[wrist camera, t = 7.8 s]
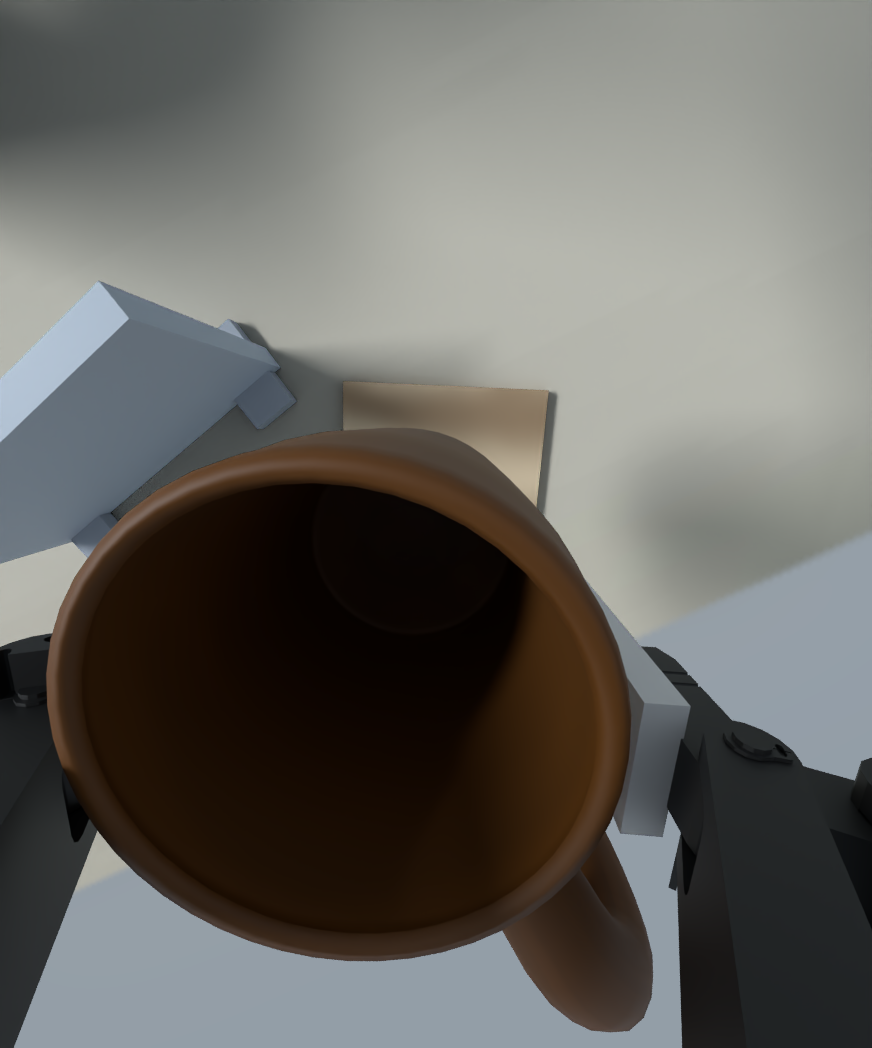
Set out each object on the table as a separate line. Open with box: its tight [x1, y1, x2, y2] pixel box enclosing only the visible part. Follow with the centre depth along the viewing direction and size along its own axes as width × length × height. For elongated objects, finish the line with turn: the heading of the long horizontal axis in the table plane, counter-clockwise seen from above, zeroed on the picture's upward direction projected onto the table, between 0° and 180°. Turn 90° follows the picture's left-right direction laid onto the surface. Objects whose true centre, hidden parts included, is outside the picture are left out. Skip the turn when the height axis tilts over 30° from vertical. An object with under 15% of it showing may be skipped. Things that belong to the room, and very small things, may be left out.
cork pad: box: [343, 381, 549, 506], centre depth 29 cm, size 16×13×1 cm
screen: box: [0, 281, 297, 564], centre depth 23 cm, size 20×6×13 cm, turn 126°
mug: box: [46, 428, 653, 1032], centre depth 10 cm, size 12×8×9 cm, turn 37°
